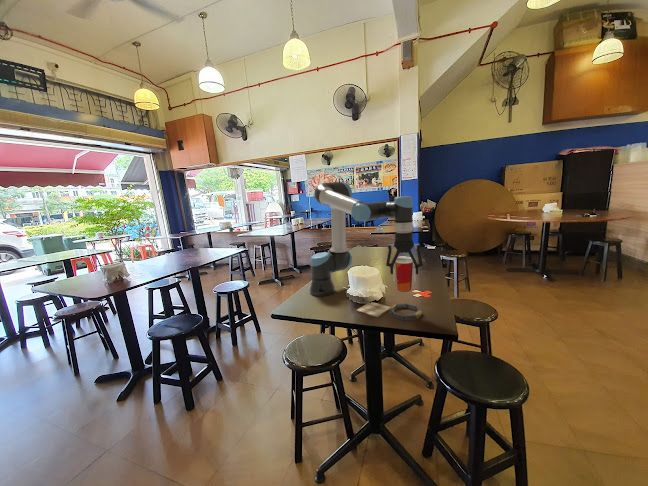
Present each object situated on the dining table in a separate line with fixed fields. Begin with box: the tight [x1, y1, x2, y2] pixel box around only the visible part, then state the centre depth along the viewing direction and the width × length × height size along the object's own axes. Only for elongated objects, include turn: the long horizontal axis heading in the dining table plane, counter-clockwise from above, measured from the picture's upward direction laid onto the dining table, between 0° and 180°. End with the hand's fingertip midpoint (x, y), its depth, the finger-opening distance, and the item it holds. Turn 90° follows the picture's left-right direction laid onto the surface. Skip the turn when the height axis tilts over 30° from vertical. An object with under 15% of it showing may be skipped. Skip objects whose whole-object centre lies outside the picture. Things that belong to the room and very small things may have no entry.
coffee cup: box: [394, 255, 414, 293], centre depth 114 cm, size 8×8×15 cm
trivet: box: [356, 301, 391, 318], centre depth 123 cm, size 12×12×1 cm
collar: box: [389, 302, 422, 321], centre depth 117 cm, size 13×13×2 cm
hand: (404, 280), depth 114 cm, fingers closed on coffee cup, 8 cm apart
